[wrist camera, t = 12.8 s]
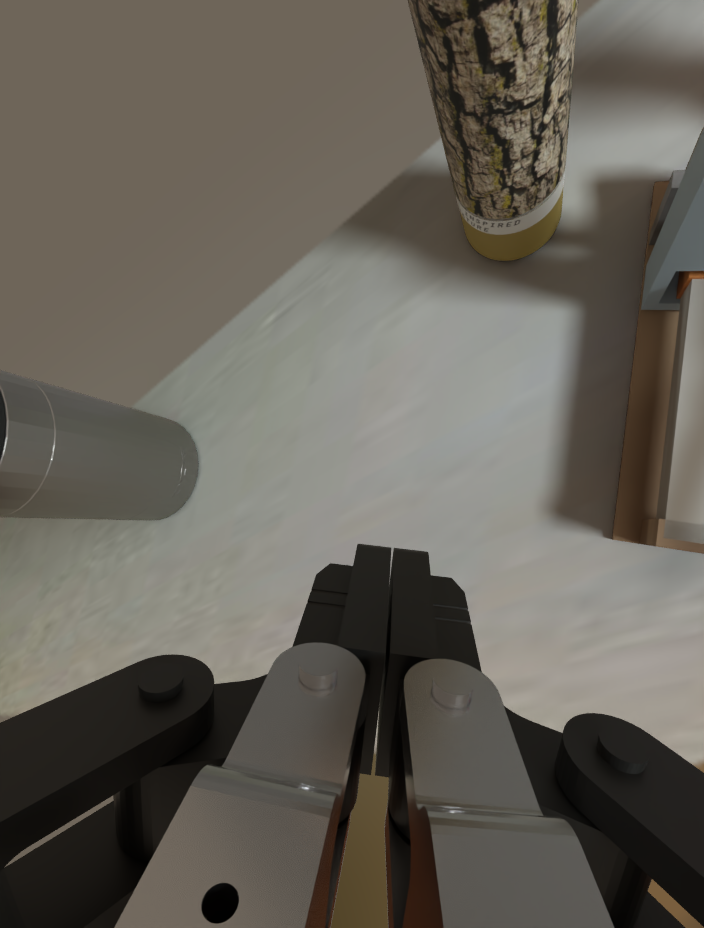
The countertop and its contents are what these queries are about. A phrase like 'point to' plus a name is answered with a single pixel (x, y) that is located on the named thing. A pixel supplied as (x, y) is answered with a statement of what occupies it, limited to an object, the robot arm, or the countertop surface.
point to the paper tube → (502, 112)
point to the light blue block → (678, 239)
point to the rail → (665, 412)
